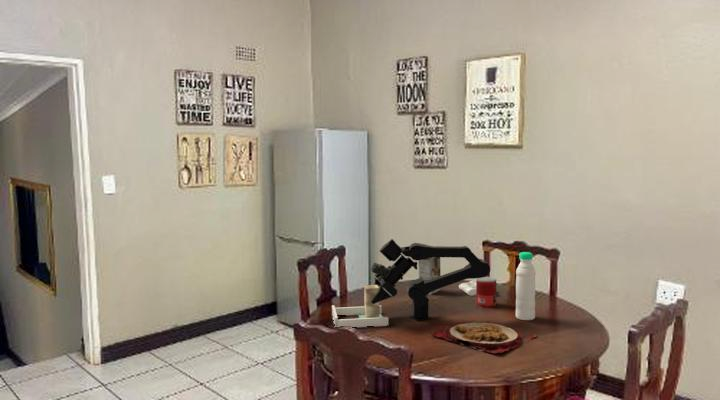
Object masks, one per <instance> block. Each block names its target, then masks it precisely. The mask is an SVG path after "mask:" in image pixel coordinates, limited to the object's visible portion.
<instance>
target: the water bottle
mask: <svg viewBox="0 0 720 400" xmlns="http://www.w3.org/2000/svg"><path fill="white" fill-rule="evenodd" d="M518 256H519V257H518V258H519V260H520V263H519V264H518V266H517V268H516V269H515V270H516V271H515V274H516V277H515V278H516V279H515V317H516V319H518V320H521V321H532V320H534V319H535V318H536V309H535V308H536V269H535V268H534V264H533V263H532V261H533V256H534V255H533V253H532V252H529V251H522V252H519V255H518Z"/></svg>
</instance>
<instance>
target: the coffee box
mask: <svg viewBox="0 0 720 400" xmlns="http://www.w3.org/2000/svg"><path fill="white" fill-rule="evenodd" d="M439 276H441V257H432V258H428V259H424V260H418V278H420V277H422V278H423V280H430V279H433V278H436V277H439ZM439 291H441V288H439V289H436V290H434V291H432V292H430V293H429V294H428V295H434V294H435V293H437V292H439Z"/></svg>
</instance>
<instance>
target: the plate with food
mask: <svg viewBox="0 0 720 400" xmlns="http://www.w3.org/2000/svg"><path fill="white" fill-rule="evenodd" d="M434 328H435V329H436V328H437V329H442V330H441V331H438V332H437V331H435V332H433V333H430V334H431V335H432V336H434V337H436V338H441V339H444V341H447V342H448V341H450V342H454V343H458V344H460V345H461V346H465V344H463V343H462V342H460V341H465V342H468V343H470V346H469V345H468V346H467V347H468V348H473V350H477V351H479V352H486V353H491V354H502V353H505V352H508V351H509V350H511V349H515V348H519V347H520V345H522V344H523V343H522V342H521V338H524V337H525V334H521V333H520V332H517V331H516V330H515V329H513V328H511V327H507V326H506V325H503V324H499V323H498V324H497V323H493V322H491V323H490V322H488V321H486V322H481V321H480V322H473V321H471V322H465V323H459V324H455V325H449V326H448V325H447V324H446V325H445V328H444V326H443V325H440V326H435V327H434ZM529 335H530V336H529ZM532 335H533V336H532ZM528 336H529V338H528V339H529V340H528V339H527V340H528V341H527V340H526V343H528V342H530V341H532V339H533V338H536V337H537V334H532V333H530V334H528ZM459 340H460V341H459ZM491 350H492V351H491Z"/></svg>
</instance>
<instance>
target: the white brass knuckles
mask: <svg viewBox="0 0 720 400" xmlns="http://www.w3.org/2000/svg"><path fill="white" fill-rule="evenodd" d="M458 289H459V290H461V291H463V292H464V293H466V294H467V295H468V296H470V297H472V296H475V297H476V279H475V280H470V281H469V282H463V283H460V284H459V285H458Z"/></svg>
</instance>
